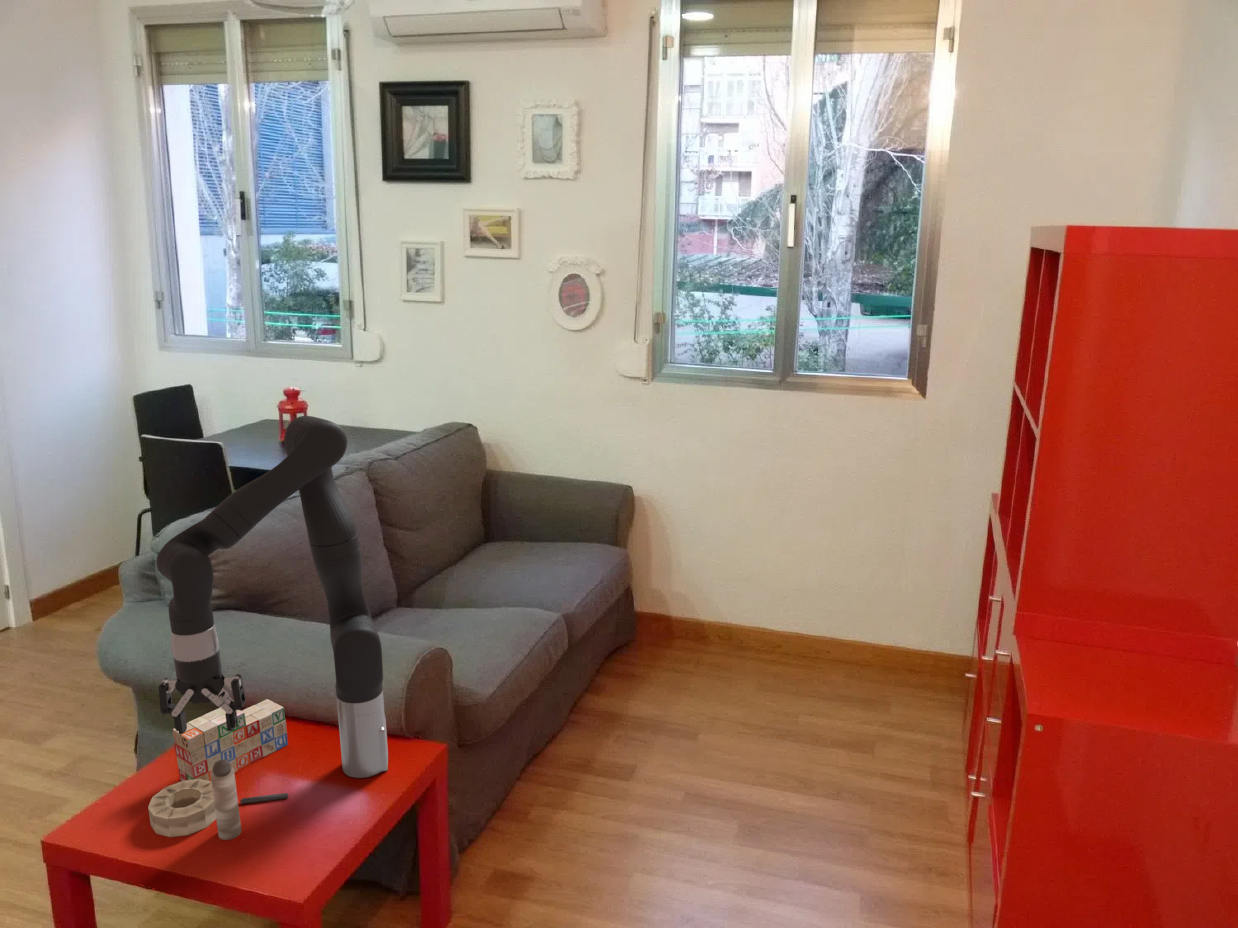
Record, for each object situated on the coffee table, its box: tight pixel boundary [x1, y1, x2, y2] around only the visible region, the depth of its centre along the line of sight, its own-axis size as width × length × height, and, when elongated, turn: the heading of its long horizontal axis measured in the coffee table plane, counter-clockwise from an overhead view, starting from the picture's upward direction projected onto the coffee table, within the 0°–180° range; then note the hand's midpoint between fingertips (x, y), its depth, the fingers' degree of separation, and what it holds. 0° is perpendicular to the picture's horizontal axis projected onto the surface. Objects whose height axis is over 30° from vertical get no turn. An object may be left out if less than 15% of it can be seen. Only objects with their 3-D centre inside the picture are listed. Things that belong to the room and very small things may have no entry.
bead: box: [147, 779, 217, 838], centre depth 180 cm, size 12×12×4 cm
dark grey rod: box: [239, 792, 289, 805], centre depth 185 cm, size 9×1×1 cm, turn 103°
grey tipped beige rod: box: [211, 760, 242, 841], centre depth 173 cm, size 4×4×15 cm
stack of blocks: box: [172, 698, 289, 782], centre depth 196 cm, size 21×6×12 cm, turn 143°
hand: (207, 730), depth 171 cm, fingers open, 8 cm apart
